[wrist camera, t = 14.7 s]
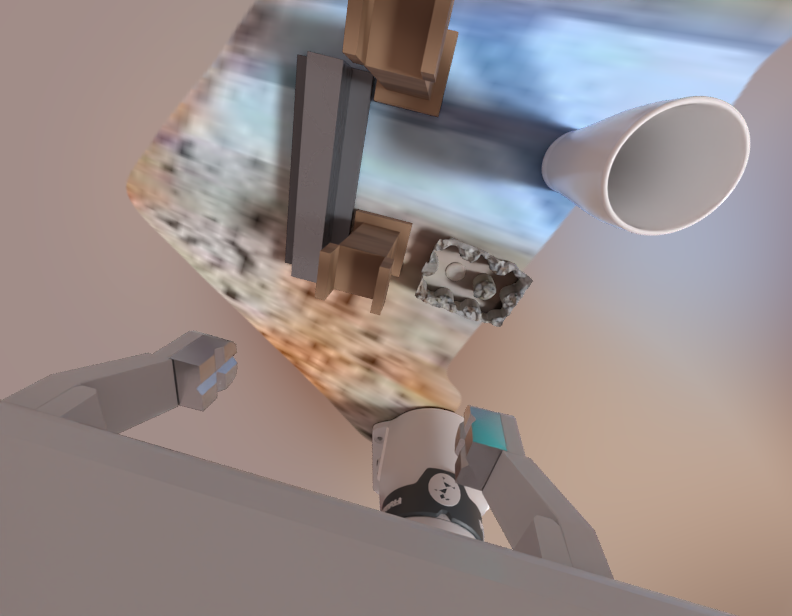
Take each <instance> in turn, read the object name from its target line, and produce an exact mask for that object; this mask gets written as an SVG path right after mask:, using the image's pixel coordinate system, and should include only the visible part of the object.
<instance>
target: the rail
mask: <svg viewBox="0 0 792 616" xmlns="http://www.w3.org/2000/svg"><path fill="white" fill-rule="evenodd" d="M352 72H353V68H352V67H351V66H349V65H348V64H347V63H346V62H345V61H344V60H341V59H337V58H333V57H329V56H325V55H321V54H317V53H313V52H309V51H308V53H307V66H306V80H305V94H304V108H303V122H302V135H301V149H300V163H299V177H298V191H297V204H296V218H295V232H294V246H293V260H292V273H291V276H293V277H296V278H300V279H304V280H308V281H312V282H315V283H317V274H318V265H319V256H320V251H321V250H322V249H323V248H324V247H326V246H327V245H328V244H329V243H331V236H332V228H333V220H334V212H335V205H336V197H337V189H338V181H339V174H340V166H341V158H342V150H343V142H344V135H345V127H346V119H347V111H348V103H349V96H350V88H351V80H352Z"/></svg>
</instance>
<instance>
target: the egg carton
mask: <svg viewBox="0 0 792 616" xmlns="http://www.w3.org/2000/svg"><path fill="white" fill-rule="evenodd" d="M450 245H455V246H457V247H458V248H459V254H460V256H461V257H462V258H463V259H465V260H468V261H470V263H472V262H473V261H476V260H478V258H479V257H480V255H483V257H484V259H487V261H488V263H489V268H490V270H492V271H493V272H494V273H495V274H497V275H505V274H507V273H509V272H510V271H513V272H514V275H515V277H518V278H517V279H516V281H515V282H514V283H513V284H512V285H508V286H505V287H503V288H502V289H501V291H500V294H499V295H500V301H499V302H498V303H497V304H496V305H495V307H494V308H493V309H492V310H491V311H489V312H488V313H483V312H481V310H480V307H479V303H478V302H477V301H476V300H474V299H465V300H464V301H462V302H459V301H454V298H453V294H452V292H451V291H450V290H449V289H447V288H439V289H438V290H436V291H435V292H433V291H430V290H428V289H427V284H426V281H425V280H424V279H423V276H430V275H433V274H434V273H435V272H436V271H437V269H438V256H437V255H436V253H434V251H435V250H436V251H437V250H441V251H442V250H443V249H445V248H447V247H448V246H450ZM421 272H422V275H421V280H420V285H419V287H418V289H417V291H416V294H415V296H416V297H417V298H418V299H421V300H422V301H423V302H426V303H429V304H431V305H432V306H435V307H438V308H440V307H442V308H444V309H446V310H448V311H450V312H452V313H456V314H458V315H461V316H463V317H465V318H467V319H470V320H474V321H480V322H484V323H491V324H492V325H494V326H498V327H500V326H501V325H502V323H503V321H504V319H505V318H506V317H507V316H509V315H510V313H511V311H512V309H513V308H514V307H515V306H516V305H517V303H518V301H519V300H520V299H521V298H522V297H523V295H524V292H525V290H526V289H528V287H529V286H530V285H531V283H532V281H533V280H532V279H531V278H530V277H529V276H527V275H526V274H525V273H523V272H522V271H520V270H519V269H518V267H517V265H516V264H515V263H512V262H510V261H508V262H505V261H500V260H498V259H497V258H495V257H494V256H491V255H489V254H488V252H486V251H484V250H481V249H478V248H476V247H474V246H471V245H468V244H465V243H463V242H460V241H459V240H457V239H455V238H453V237H450V238H449V240H443V239H440V240H439V241H438V243H437V244H435V247H434V249H433V252H432V254H431V257H430V261H429V262H426V264H425V265H424V267H423V269H422V271H421ZM465 274H466V269H465V267H464V266H463V265H462V264H461V263H457V262H455V263H451V264H449V265H448V266H447V268H446V276H447V278H448V279H450V280H452V281H459V280H461V279H463V278H464V276H465ZM473 289H474V297H476V298H480V299H482V300H487V299H489V298H491V297H492V296H494V295H495V293H496V286H495V283H494V281H493V279H492V277H491V276H490V275H488V274H480V275H477V276H476V277H475V278H474V280H473Z"/></svg>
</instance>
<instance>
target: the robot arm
mask: <svg viewBox="0 0 792 616" xmlns="http://www.w3.org/2000/svg"><path fill="white" fill-rule="evenodd" d="M236 353H237V346H236V344H235V343H234V342H232V341H229V340H225V339H222V338H219V337H215V336H212V335H208V334H204V333H201V332H198V331H188V332H187V333H185V334H184V335H182V336H181V337H179V338H177V339H176V340H174V341H172V342H171V343H169V344H168V345H166V346H164V347H163V348H161V349H159V350H158V351H156V352H155V353H153V354H150V353H145V354H141V355H136V356H132V357H127V358H123V359H119V360H114V361H109V362H105V363H100V364H96V365H92V366H87V367H83V368H78V369H74V370H69V371H65V372H60V373H56V374H51V375H49V376H47V377H45V378H43V379H41V380H40V381H37V382H35V383H34V384H32V385H30V386H28V387H26V388H24V389H22V390H20V391H18V392H16V393H14V394H12V395H11V396H9V397H7V398H5V399H3V400H0V616H736V615H733V614H730V613H727V612H723V611H720V610H716V609H713V608H709V607H706V606H702V605H699V604H695V603H692V602H689V601H686V600H682V599H678V598H675V597H672V596H668V595H665V594H662V593H658V592H655V591H651V590H648V589H644V588H641V587H638V586H634V585H631V584H628V583H624V582H621V581H617V580H614V578H613V575H612V573H611V570H610V568H609V565H608V563H607V560H606V558H605V555H604V553H603V550H602V547H601V545H600V542H599V540H598V537H597V535H596V532H595V530H594V529H593V528H592V527H591V526H590V524H589V523H588V522H587V521H586V520H585V519H584V518H583V517H582V515H581V514H580V513H579V512H578V511H577V510H576V509H575V508H574V507H573V506H572V504H571V503H570V502H569V501H568V500H567V499H566V498H565V496H564V495H563V494H562V493H561V492H560V491H559V490H558V489H557V487H556V486H555V485H554V484H553V483H552V482H551V481H550V480H549V478H548V477H547V476H546V475H545V474H544V473H543V472H542V471H541V470H540V469H539V467H538V466H537V465H536V464H535V463H534V462H533V460H532V459H531V458H529V457H526V456H525V452H524V449H523V445H522V441H521V437H520V434H519V430H518V426H517V422H516V418H515V417H514V416H512V415H508V414H503V413H499V412H498V413H497V412H494V411H490V410H486V409H482V408H478V407H474V406H471V405H468V406H467V407H466V409H465V412H464V417H462V416H460V415H458V414H456V413H453V412H451V411H447V410H443V409H436V408H422V409H416V410H412V411H409V412H406V413H404V414H402V415H400V416H399V417H397V418H395V419H394V420H391V421H386V422H381V423H377V424H375V425H374V426H373V431H372V447H373V448H372V450H373V490H374V491H375V492H376V493H378V494H379V496H380V511H379V510H375V509H372V508H368V507H365V506H361V505H358V504H355V503H351V502H348V501H345V500H341V499H338V498H334V497H331V496H327V495H324V494H321V493H317V492H314V491H311V490H307V489H304V488H300V487H297V486H294V485H290V484H286V483H283V482H280V481H276V480H273V479H270V478H266V477H263V476H259V475H256V474H253V473H249V472H246V471H242V470H239V469H236V468H232V467H229V466H225V465H221V464H218V463H215V462H212V461H208V460H205V459H201V458H198V457H194V456H191V455H188V454H184V453H180V452H178V451H174V450H171V449H167V448H164V447H160V446H157V445H153V444H150V443H147V442H143V441H140V440H136V439H133V438H130V437H126V436H123V435H120V434H119V433H121V432H123V431H125V430H127V429H129V428H132V427H134V426H136V425H138V424H141V423H143V422H145V421H147V420H149V419H151V418H154V417H156V416H158V415H160V414H162V413H165V412H167V411H169V410H171V409H174V408H176V407H178V405H180V406H184V407H188V408H192V409H196V410H200V411H204V410H205V409H206V408H207V407H208V406H209V405H210V404H211V403H212V402H213V401H214V400H215V399H216V398H217V392H219V391H222V390H225V389H226V388H227V387H228V386H229V385H230V384H231V383H232V381H233V380H234V378H235V376H236V372H237V362H236V361H235V359H234V357H233V356H234V355H235V354H236ZM489 507H490V508H491V510H492V512H493V514H494V516H495V518H496V520H497V521H498V523H499V525H500V527H501V528H502V531H503V532H504V534H505V536H506V538H507V540H508V541H509V543H510V545H511V547H512V549H513V550H512V549H508V548H505V547H501V546H498V545H494V544H491V543H488V542H484V529H483V525H482V518H481V516H483V515H484V514H485V512H486V511H487V510H489Z"/></svg>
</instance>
